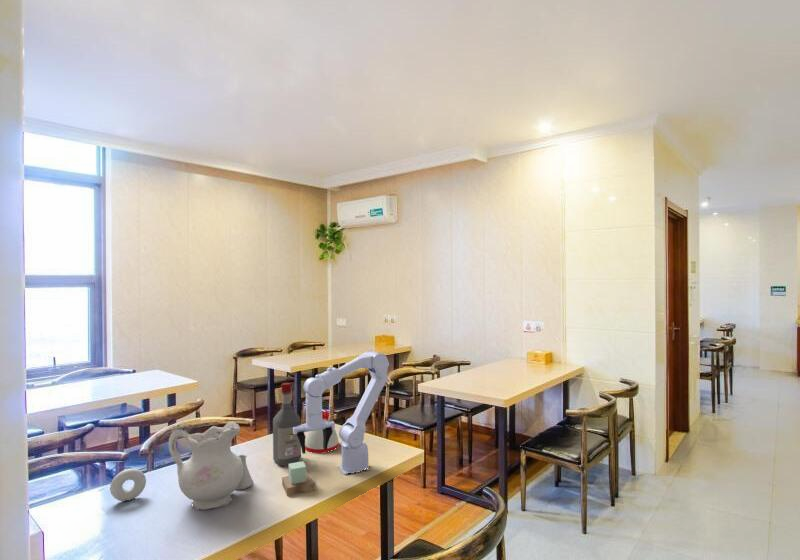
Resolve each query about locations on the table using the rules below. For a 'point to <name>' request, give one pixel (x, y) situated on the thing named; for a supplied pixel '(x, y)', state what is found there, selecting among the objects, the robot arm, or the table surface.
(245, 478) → the flask
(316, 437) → the white bell
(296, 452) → the liquor
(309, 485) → the walnut base
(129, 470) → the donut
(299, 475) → the sage cube
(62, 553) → the table surface
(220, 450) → the ceramic pitcher
